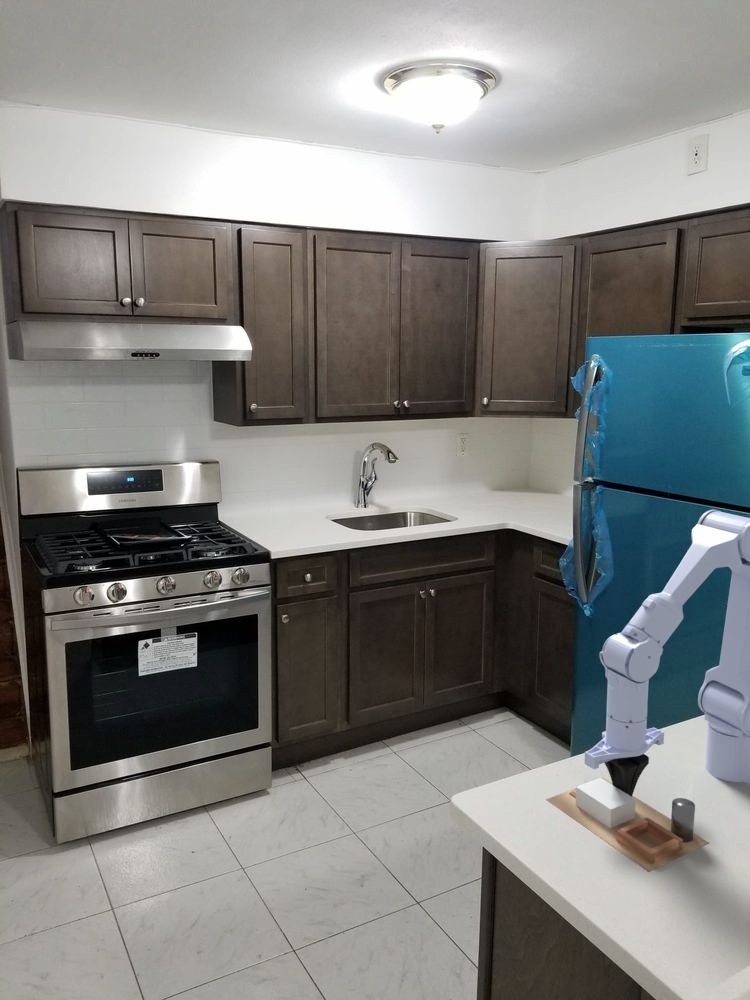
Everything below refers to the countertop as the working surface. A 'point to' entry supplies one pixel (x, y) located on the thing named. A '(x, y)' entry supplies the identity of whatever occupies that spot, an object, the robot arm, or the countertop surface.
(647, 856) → the board
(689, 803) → the grey metal cylinder
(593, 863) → the countertop surface
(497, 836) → the countertop surface
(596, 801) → the plain white cuboid
